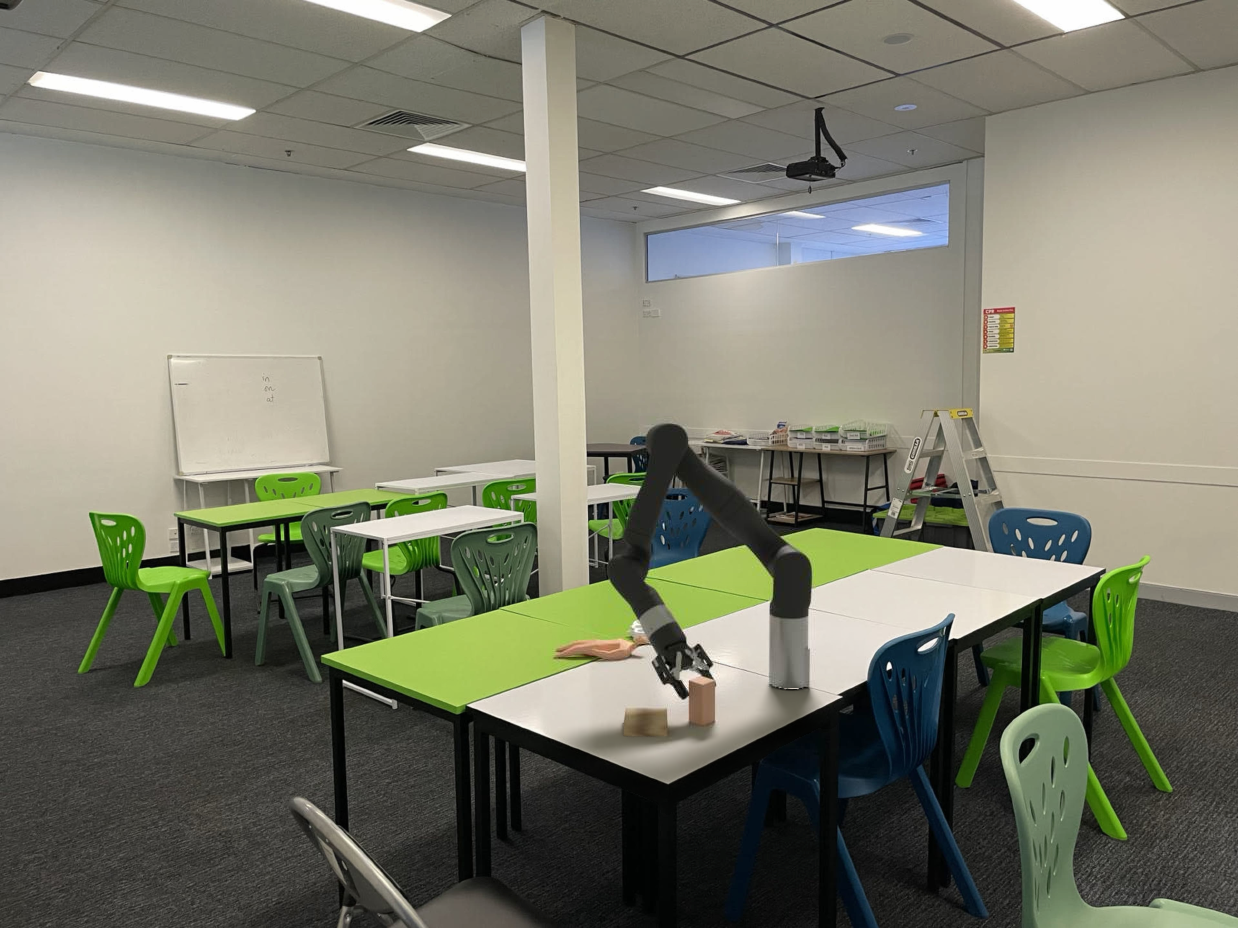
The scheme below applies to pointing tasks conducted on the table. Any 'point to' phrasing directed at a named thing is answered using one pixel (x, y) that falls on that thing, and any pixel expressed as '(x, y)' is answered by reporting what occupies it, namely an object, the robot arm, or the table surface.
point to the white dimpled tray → (637, 631)
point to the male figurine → (601, 648)
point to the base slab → (645, 722)
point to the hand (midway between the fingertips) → (700, 693)
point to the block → (701, 700)
